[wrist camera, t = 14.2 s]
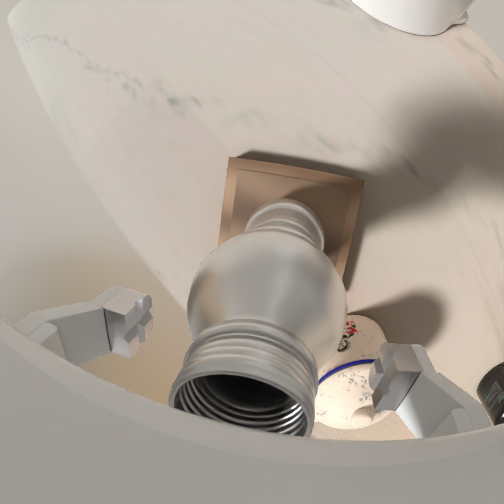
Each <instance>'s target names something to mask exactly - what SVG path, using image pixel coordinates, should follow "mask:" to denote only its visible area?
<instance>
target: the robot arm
mask: <svg viewBox="0 0 504 504" xmlns="http://www.w3.org/2000/svg"><path fill="white" fill-rule="evenodd" d="M352 1H353V2H354V3H355V4H356V5H357V6H359V7H360V8H361V9H362V10H364V11H365V12H367V13H368V14H369V15H371V16H373V17H374V18H376V19H378V20H380V21H381V22H383V23H385V24H387V25H390V26H392V27H394V28H397V29H399V30H402V31H405V32H409V33H413V34H418V35H437V34H440V33H442V32H444V31H445V30H446V29H447V28H448V27H450V26H451V25H452V24H463V23H465V22H466V21H467V19H468V15H467V12H466V10H467V9H468V7H469V6H470V5H471V4H472V3H473V1H474V0H352ZM151 307H152V299H151V297H150V296H149V295H146V294H143V293H140V292H137V291H134V290H130V289H127V288H124V287H121V286H118V285H113V286H111V287H110V288H108V289H107V290H106V291H104V292H103V293H101V294H100V295H99V296H97V297H96V298H95V299H93V300H92V301H90V302H81V303H77V304H71V305H66V306H61V307H56V308H51V309H46V310H40V311H35V312H32V313H31V314H29V315H28V316H26V317H25V318H23V319H22V320H21V321H19V322H18V323H16V324H15V325H11V324H10V323H9V322H8V321H6V320H5V319H4V318H2V317H1V316H0V504H504V423H503V424H499V425H495V426H493V425H492V423H491V421H490V419H489V417H488V415H487V413H486V411H485V409H484V407H483V405H482V404H481V403H480V402H478V401H477V400H476V399H474V398H473V397H472V396H470V395H469V394H468V393H466V392H465V391H464V390H462V389H461V388H460V387H458V386H457V385H456V384H454V383H453V382H451V381H450V380H449V379H447V378H446V377H445V376H443V375H442V374H441V373H436V371H435V369H434V367H433V365H432V363H431V361H430V359H429V357H428V355H427V353H426V351H425V350H424V348H423V346H421V345H418V344H399V343H387V342H384V343H383V344H382V345H381V347H380V349H379V351H378V353H379V356H380V357H379V358H378V359H376V360H375V361H373V364H372V366H371V368H370V372H369V386H370V388H371V389H372V390H373V391H374V392H373V394H372V401H373V406H374V410H389V411H395V412H396V413H397V414H398V416H399V417H400V418H401V419H402V420H403V422H404V423H405V424H406V425H407V427H408V428H409V429H410V430H411V431H412V433H413V434H414V435H415V436H416V438H417V439H407V440H387V441H354V440H333V439H320V438H310V437H301V436H293V435H286V434H279V433H273V432H267V431H262V430H256V429H251V428H246V427H242V426H237V425H233V424H229V423H224V422H220V421H217V420H213V419H209V418H205V417H202V416H198V415H195V414H192V413H188V412H185V411H182V410H179V409H176V408H173V407H170V406H167V405H164V404H161V403H158V402H156V401H153V400H151V399H148V398H145V397H143V396H140V395H138V394H135V393H133V392H130V391H128V390H126V389H123V388H121V387H119V386H117V385H114V384H112V383H110V382H108V381H106V380H104V379H102V378H100V377H98V376H95V375H94V374H92V373H90V372H88V371H86V370H84V369H82V368H80V367H78V366H81V365H83V364H85V363H88V362H90V361H92V360H94V359H97V358H99V357H102V356H104V355H106V354H108V353H110V352H114V353H117V354H119V355H122V356H124V357H127V358H130V359H131V358H132V356H133V355H134V354H135V353H136V352H137V351H138V349H139V348H140V346H139V343H141V342H143V341H146V340H147V339H148V337H149V336H150V333H151V331H152V327H153V317H152V315H151V314H150V312H149V310H150V309H151Z"/></svg>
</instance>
